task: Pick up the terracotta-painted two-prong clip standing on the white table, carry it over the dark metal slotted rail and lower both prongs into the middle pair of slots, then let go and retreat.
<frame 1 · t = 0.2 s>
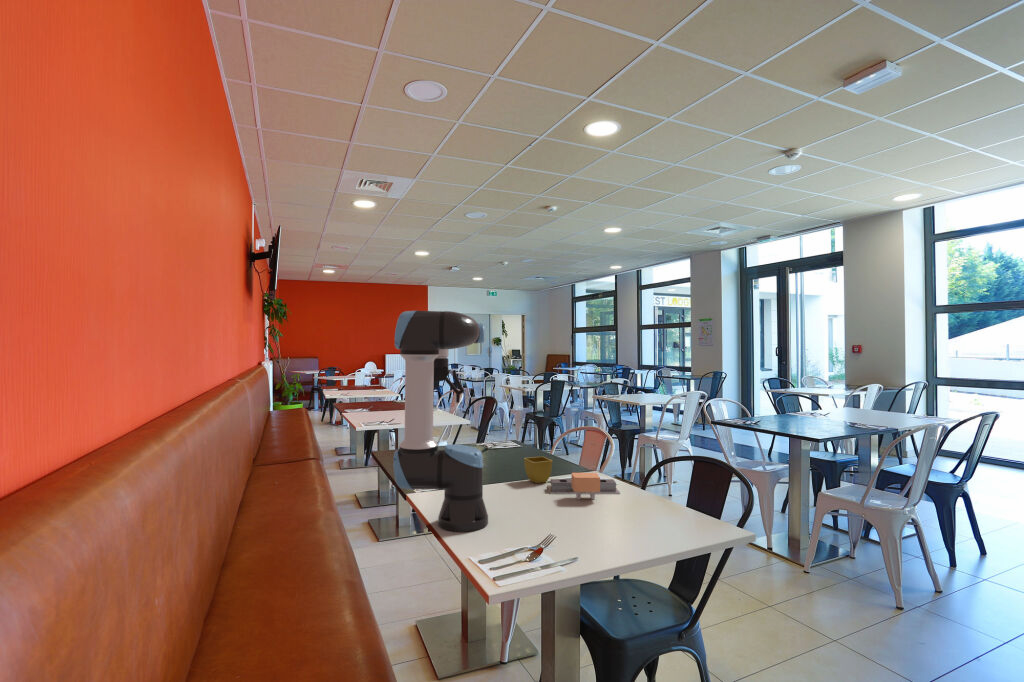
hand: (438, 410, 207), 28 cm above the table, fingers open, 13 cm apart
flower pot: (537, 482, 207), on the table
rail: (582, 490, 196), on the table
clip: (585, 498, 185), on the table
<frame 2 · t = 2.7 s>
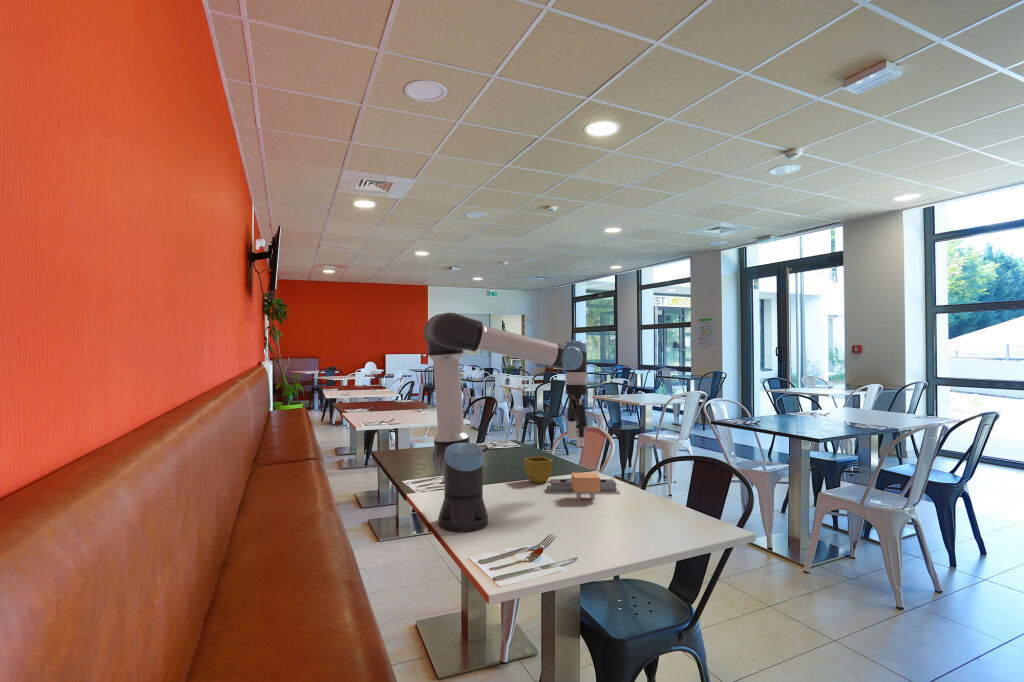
hand: (576, 442, 187), 20 cm above the table, fingers open, 13 cm apart
nothing on the table moved.
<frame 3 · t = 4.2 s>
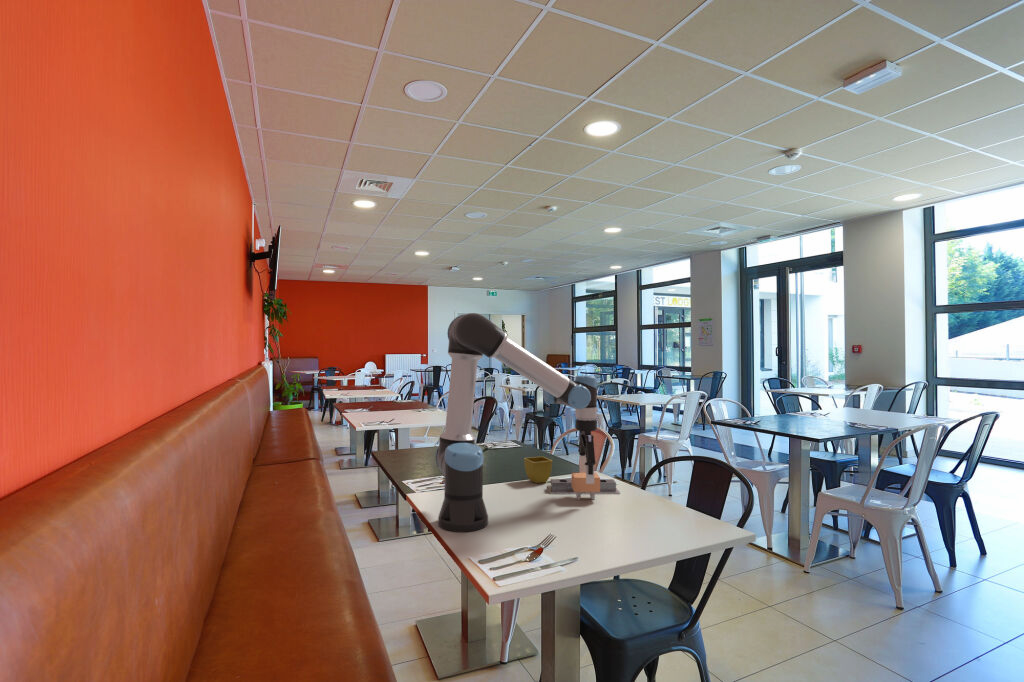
hand: (586, 478, 185), 7 cm above the table, fingers open, 13 cm apart
nothing on the table moved.
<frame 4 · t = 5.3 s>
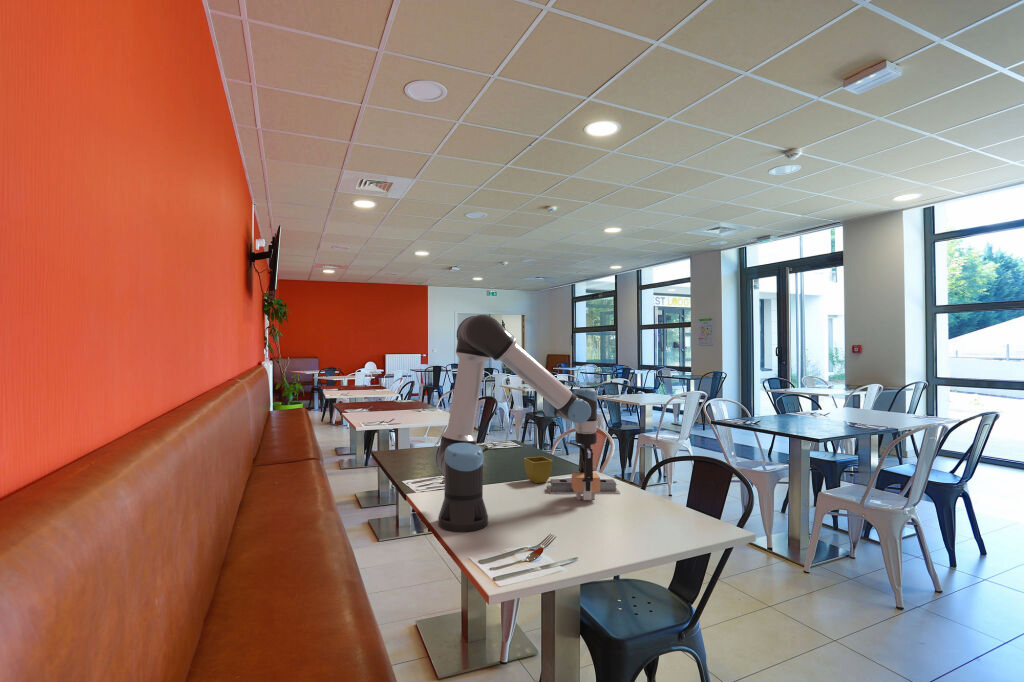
hand: (585, 496, 185), 1 cm above the table, fingers closed on clip, 7 cm apart
clip: (585, 498, 185), on the table, touching gripper
everything else where it was.
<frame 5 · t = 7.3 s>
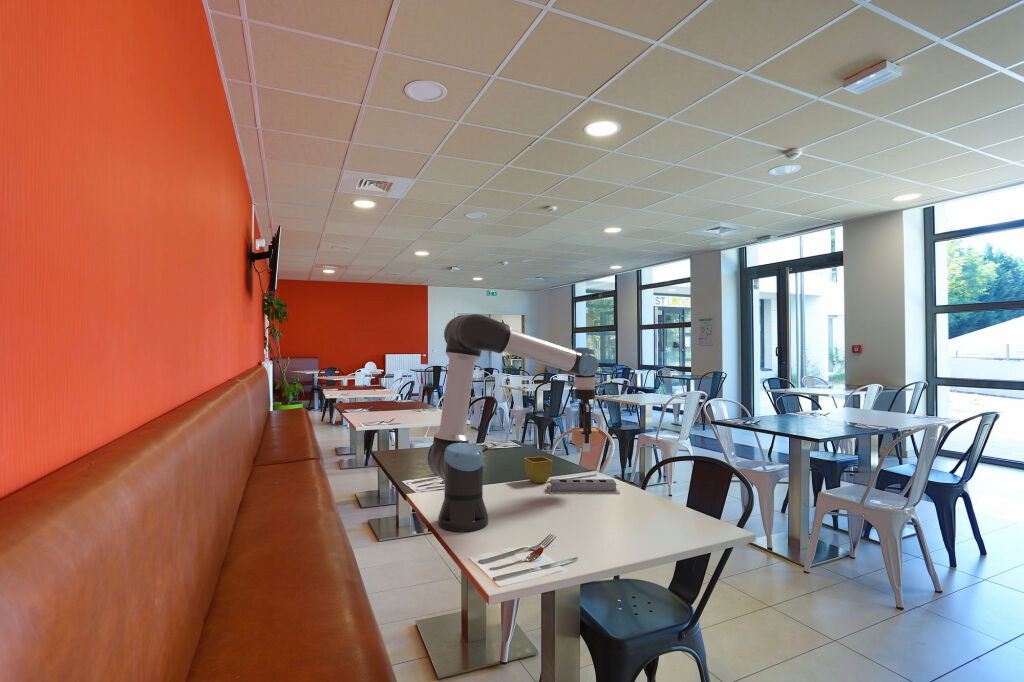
hand: (584, 449, 194), 16 cm above the table, fingers closed on clip, 7 cm apart
clip: (584, 451, 194), point 15 cm above the table, touching gripper
everything else where it was.
when the fingers open (3 cm above the table, at t = 9.5 s): clip drops 1 cm, resting on rail.
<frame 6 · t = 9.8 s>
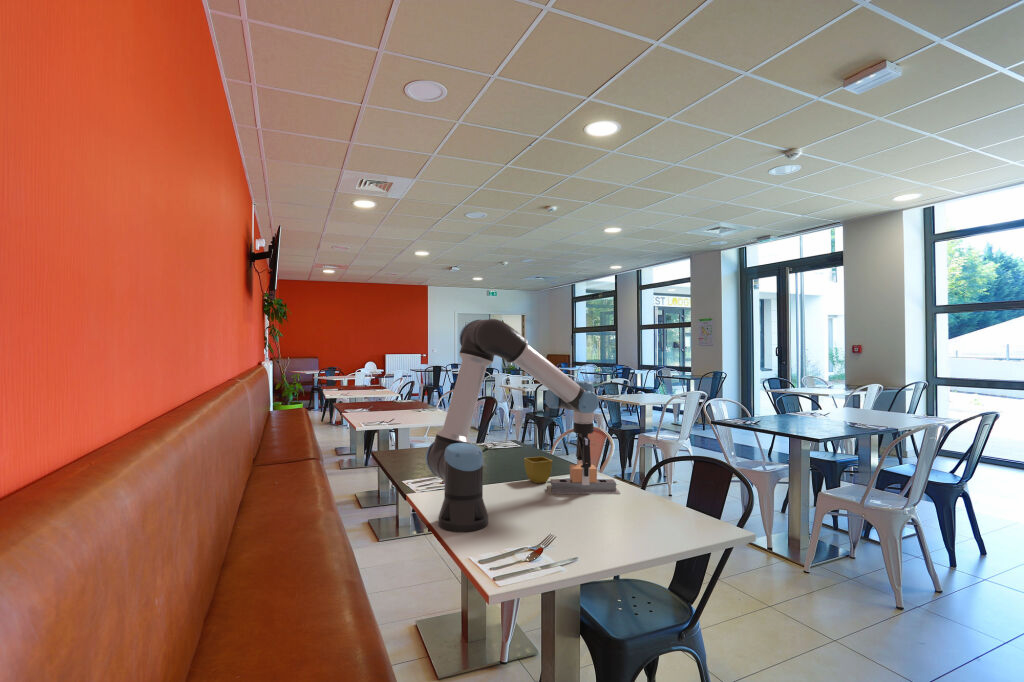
hand: (583, 480, 196), 3 cm above the table, fingers open, 10 cm apart
clip: (583, 488, 196), resting on rail
everything else where it was.
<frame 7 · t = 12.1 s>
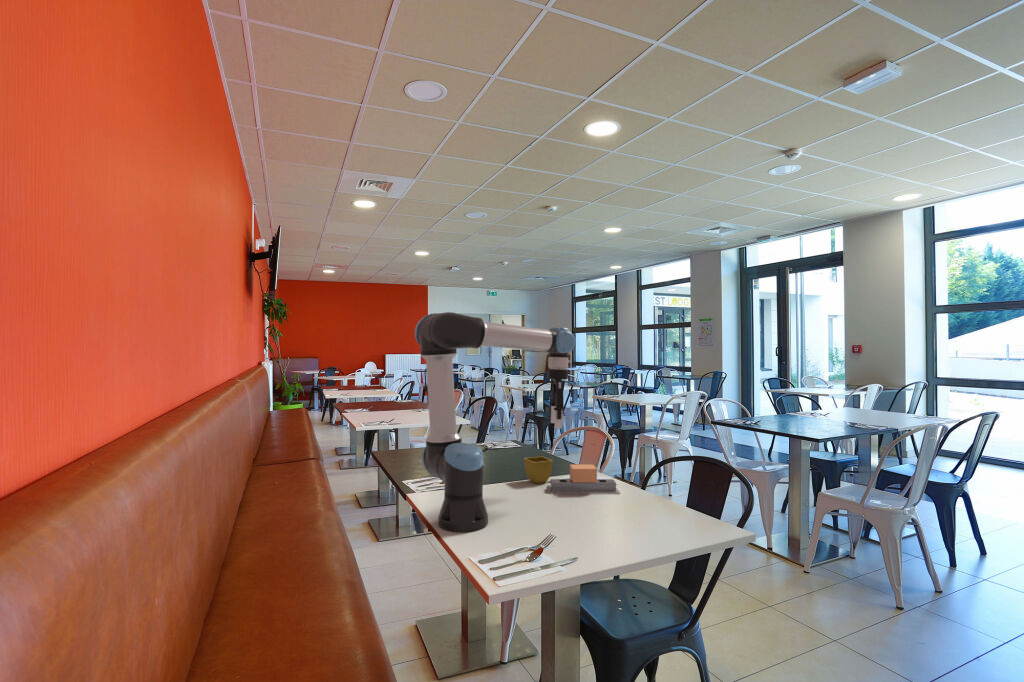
hand: (556, 425, 194), 25 cm above the table, fingers open, 13 cm apart
nothing on the table moved.
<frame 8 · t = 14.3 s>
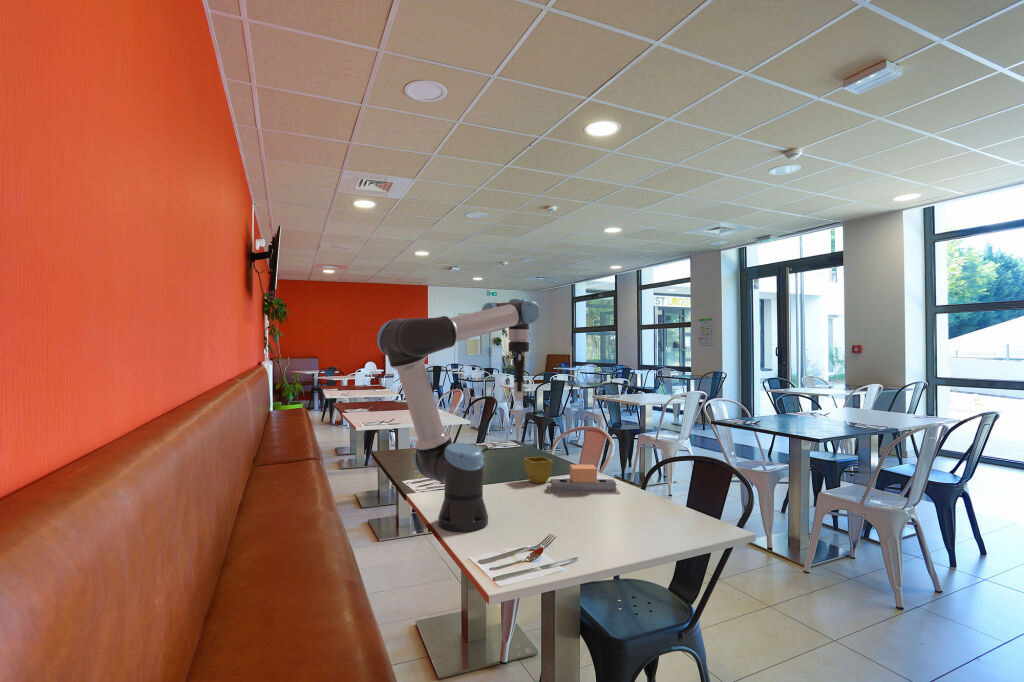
hand: (518, 398, 191), 35 cm above the table, fingers open, 13 cm apart
nothing on the table moved.
at the end: clip 0.0 cm off-centre on the rail, point 0.4 cm above the rail's base; clip tilted 0°; the gripper is holding nothing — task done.
